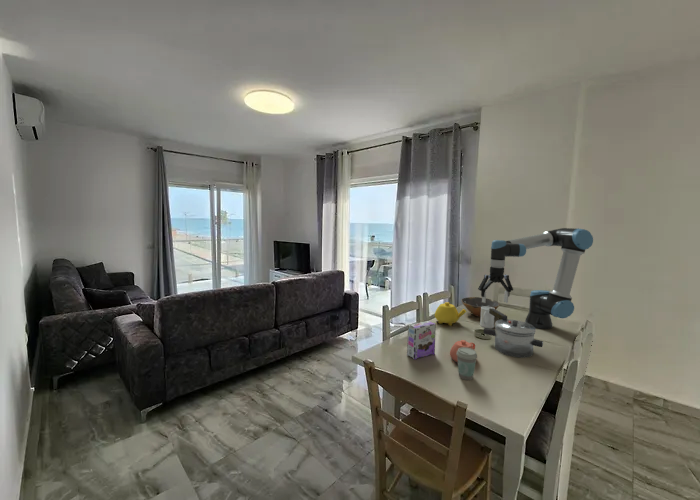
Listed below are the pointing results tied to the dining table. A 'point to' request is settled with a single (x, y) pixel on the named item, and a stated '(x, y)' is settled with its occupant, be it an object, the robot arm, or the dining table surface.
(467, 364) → the coffee cup
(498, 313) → the lid
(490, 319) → the mug
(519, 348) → the pot
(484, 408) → the dining table surface
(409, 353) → the candy box
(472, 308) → the bowl
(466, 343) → the sugar bowl
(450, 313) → the teapot
